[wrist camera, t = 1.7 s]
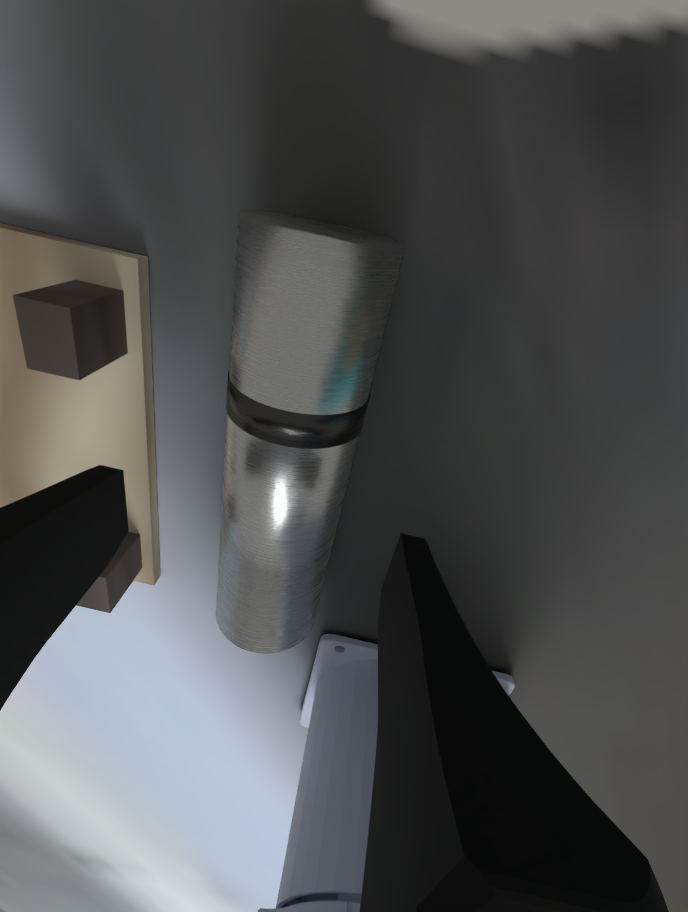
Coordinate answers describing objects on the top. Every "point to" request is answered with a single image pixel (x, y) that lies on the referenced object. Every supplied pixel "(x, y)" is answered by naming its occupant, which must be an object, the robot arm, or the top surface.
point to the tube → (294, 413)
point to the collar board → (79, 384)
